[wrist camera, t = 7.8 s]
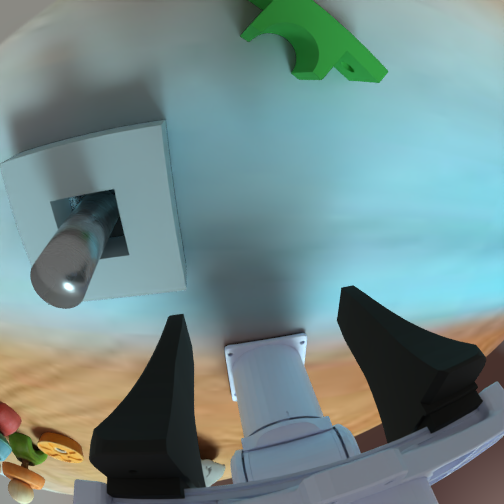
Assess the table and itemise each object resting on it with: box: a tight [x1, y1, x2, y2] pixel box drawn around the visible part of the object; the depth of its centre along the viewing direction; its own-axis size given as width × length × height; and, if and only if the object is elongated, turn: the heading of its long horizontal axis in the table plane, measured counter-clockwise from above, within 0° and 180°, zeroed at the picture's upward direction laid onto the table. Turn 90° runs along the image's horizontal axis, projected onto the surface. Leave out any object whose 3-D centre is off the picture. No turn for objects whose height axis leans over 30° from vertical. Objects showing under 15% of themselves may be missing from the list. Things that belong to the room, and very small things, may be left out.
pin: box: [30, 190, 120, 309], centre depth 16 cm, size 3×3×9 cm
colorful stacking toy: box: [0, 403, 84, 504], centre depth 28 cm, size 18×17×12 cm
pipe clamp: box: [240, 0, 388, 83], centre depth 15 cm, size 10×4×4 cm, turn 53°
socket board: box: [0, 120, 186, 305], centre depth 19 cm, size 11×11×3 cm
